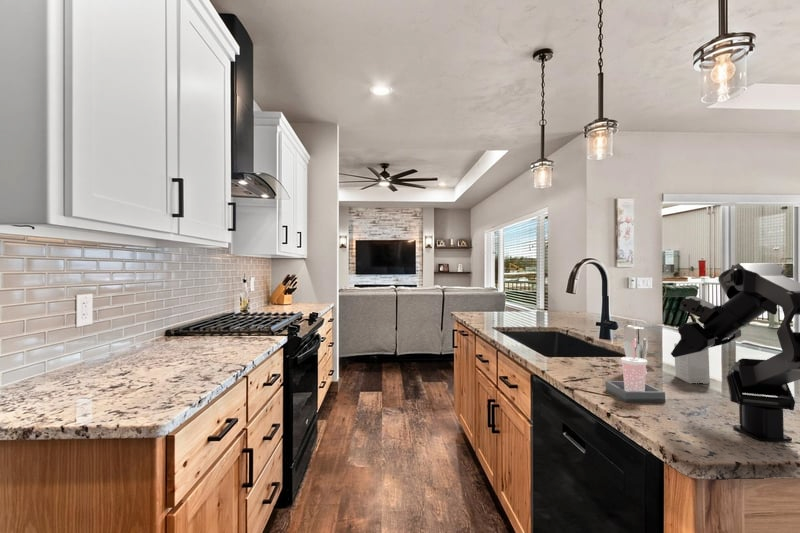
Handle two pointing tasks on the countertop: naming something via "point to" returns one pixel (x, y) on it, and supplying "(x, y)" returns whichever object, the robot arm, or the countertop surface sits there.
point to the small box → (693, 367)
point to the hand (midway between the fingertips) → (681, 352)
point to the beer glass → (640, 339)
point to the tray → (635, 393)
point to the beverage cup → (634, 372)
